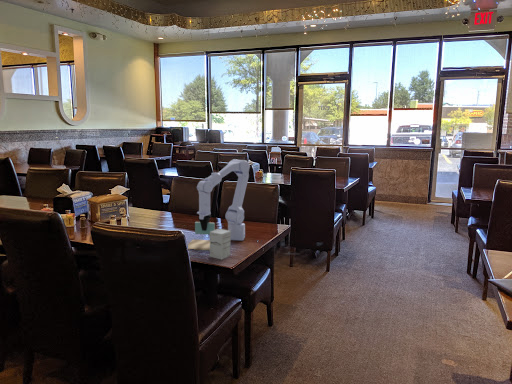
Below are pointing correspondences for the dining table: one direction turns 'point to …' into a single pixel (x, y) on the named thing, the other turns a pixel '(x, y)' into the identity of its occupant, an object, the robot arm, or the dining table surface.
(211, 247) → the supplement box
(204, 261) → the dining table surface
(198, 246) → the mat
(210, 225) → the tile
